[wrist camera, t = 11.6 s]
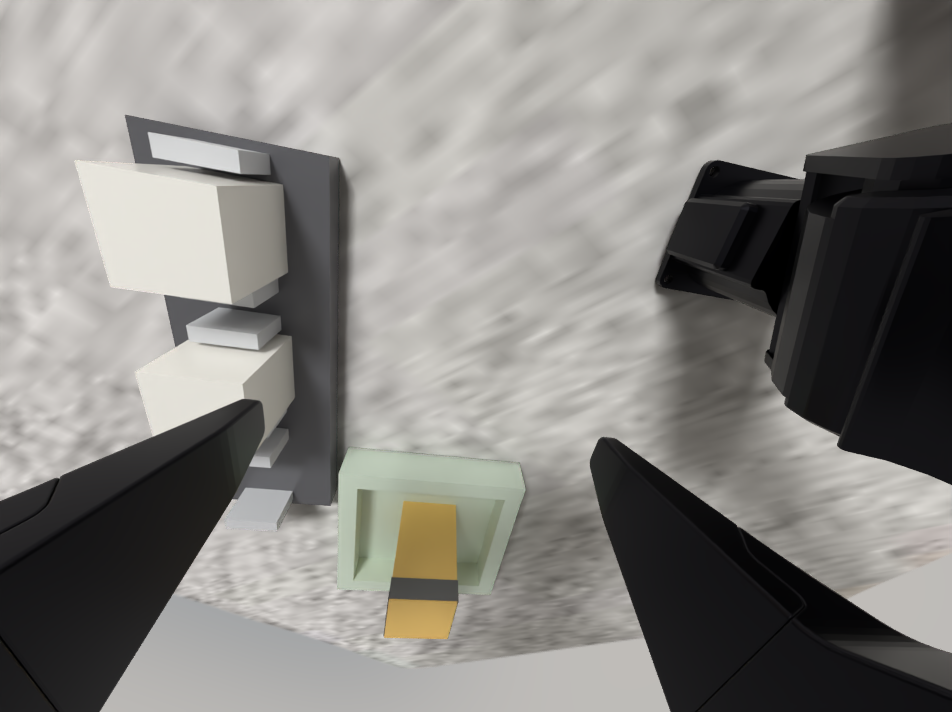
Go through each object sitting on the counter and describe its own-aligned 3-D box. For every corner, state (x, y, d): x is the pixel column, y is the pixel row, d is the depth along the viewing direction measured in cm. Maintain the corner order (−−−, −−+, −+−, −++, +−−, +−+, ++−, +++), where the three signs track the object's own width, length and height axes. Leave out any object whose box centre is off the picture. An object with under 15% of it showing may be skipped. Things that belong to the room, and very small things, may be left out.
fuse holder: (339, 157, 17) (308, 151, 13) (336, 489, 26) (318, 537, 23) (152, 120, 15) (64, 102, 12) (221, 480, 25) (183, 530, 21)
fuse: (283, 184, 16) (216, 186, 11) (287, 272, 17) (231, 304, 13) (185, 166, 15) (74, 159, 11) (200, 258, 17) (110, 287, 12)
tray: (519, 462, 26) (525, 489, 24) (487, 565, 31) (490, 595, 29) (348, 447, 24) (338, 473, 22) (345, 558, 30) (337, 589, 28)
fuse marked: (456, 504, 27) (458, 602, 21) (448, 539, 29) (448, 639, 22) (402, 500, 26) (388, 600, 20) (398, 536, 28) (383, 638, 22)
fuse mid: (291, 336, 19) (242, 384, 14) (295, 397, 21) (251, 457, 16) (211, 325, 18) (134, 372, 14) (221, 389, 20) (156, 448, 16)
